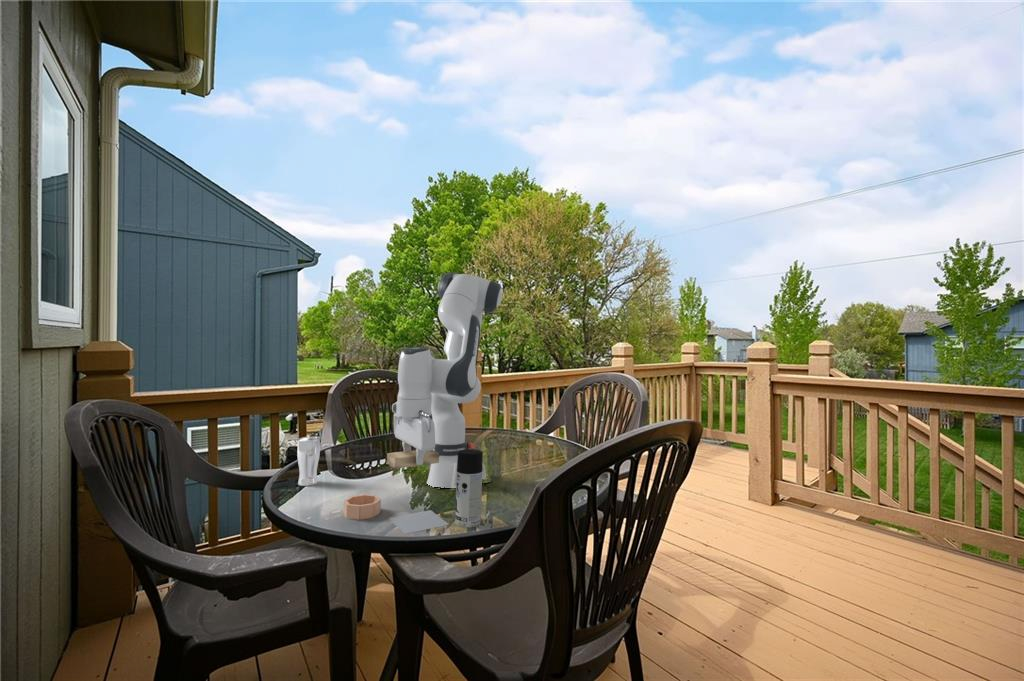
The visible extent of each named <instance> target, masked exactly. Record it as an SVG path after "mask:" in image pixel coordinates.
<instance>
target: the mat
mask: <svg viewBox="0 0 1024 681" xmlns="http://www.w3.org/2000/svg"><path fill="white" fill-rule="evenodd" d="M388 519H389V520H390V522H392V523H393V524H394V526H396V527H397V529H398V530H400V532H401V533H402V534H404V535H407V534H412V533H416V532H421V531H427V530H431V529H434V528H435V529H436V528H440V527H445V526H450V524H449V523H448V522H447V521H446V520H444V519H443V518H442V517H440V516H439V515H438V514H436V513H435V512H434V511H433V510H431V509H429V510H423V511H419V512H412V513H409V514H408V513H407V514H402V515H396V516H392V517H388Z"/></svg>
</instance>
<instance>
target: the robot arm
mask: <svg viewBox="0 0 1024 681" xmlns="http://www.w3.org/2000/svg"><path fill="white" fill-rule="evenodd" d="M437 284H438V285H437V295H438V297H439V300H440V303H439V305H438V309H437V315H438V316H437V317H438V319H439V321H440V323H441V324H442V326H443V327H444V328H445V329H447V334H446V338H445V342H444V346H443V352H444V354H445V355H446V357H447V359H443V358H442V359H441V358H436V357H434V356H432V354H431V349H430V347H429V348H428V347H426V346H411V347H407V348H406V347H405V348H404V349H403V350H401V353H400V355H399V356H400V357H399V360H398V369H397V383H398V393H397V398H396V399H397V401H396V402H394V403H392V405H391V411H392V413H393V433H394V437H395V438H396V439H398V440H400V441H401V442H402V444H401V445H402V448H403V451H411V450H412V447H413V448H415V450H416V452H417V454H416V457H415V464H416V465H419V466H423V465H422V464H423V458H424V455H425V452H426V451H430V450H434V451H436V452H438V453H439V463H434V464H430V469H429V473H428V477H427V480H426V484H428V486H429V485H430V486H429V487H431V486H432V487H431V488H434V487H441V488H444V487H445V488H456V485H457V459H458V451H460V450H466V449H474V448H475V447H476V445H475V443H474V442H473V443H472V442H468V441H466V418H465V417H464V414H463V413H462V412H461V410H460V408H459V404H466V403H472V402H474V401H475V400H476V399H477V398H478V397H479V396H480V393H481V389H482V388H481V381H480V378H479V377H478V376H477V375H478V374H477V373H478V372H477V366H478V365H477V364H478V356H479V349H480V340H481V331H482V324H483V313H484V316H485V317H486V316H488V314H490V313H494V311H497V309H499V308H498V307H499V306H500V304H501V302H502V299H503V290H502V289H503V288H502V285H501V283H499V282H496V281H494V280H489V279H486V278H483V277H480V276H475V275H471V274H469V273H468V274H467V273H456V272H446V273H444V274H443V275H441V277H440V280H439V282H438V283H437ZM474 450H475V449H474ZM482 470H483V471H482V479H485V478H486V474H487V473H486V467H485V464H484V463H483V469H482Z"/></svg>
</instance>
